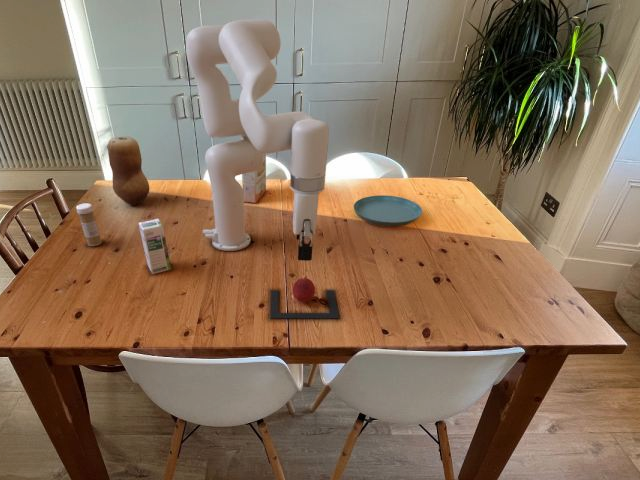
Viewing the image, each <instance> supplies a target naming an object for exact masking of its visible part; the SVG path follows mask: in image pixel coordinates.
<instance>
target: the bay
mask: <svg viewBox="0 0 640 480" xmlns="http://www.w3.org/2000/svg"><path fill="white" fill-rule="evenodd" d="M325 291H326V298H327V303H328V304H327V305H328V310H329V312H279V290H278V289H271V290H270V317H269V318H270V320H339V319H340V315H339V311H338V305H337V301H336V300H337V299H336V294H335V290H334V289H326V290H325Z"/></svg>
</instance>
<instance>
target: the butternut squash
mask: <svg viewBox="0 0 640 480" xmlns="http://www.w3.org/2000/svg"><path fill="white" fill-rule="evenodd" d="M106 148H107V154H108V162H109V166H110V169H111V171H112V190H113V192H114V194H115V195H116V196H117V197H118V198H120V199H121V200H122V201H123V202H124V203H126V204H127V205H128V206H132V207H133V206H136V205H138V204H140V203H142V202H143V201H144V200H145V199H147V197H148V195H149V193H150V184H149V181H148V179H147V177H146V175H145V174H144V172H143V170H142V165H143V164H142V163H143V159H142V153H141V150H140V149H141V148H140V145H139V143H138V141H137V139H135V138H133V137H131V136H115V137H111V138H110V139H109V141H108V142H107V145H106Z"/></svg>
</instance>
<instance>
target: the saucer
mask: <svg viewBox="0 0 640 480" xmlns="http://www.w3.org/2000/svg"><path fill="white" fill-rule="evenodd" d="M353 210H354V213H355V214H356V215H357V216H358V217H359V218H360V219H361V220H363V221H364V222H366V223H368V224H370V225H373V226H378V227H385V228H398V227H403V226H404V227H405V226H407V225H410V224H412V223H415V222H416V221H417V220H418V219H419V218H420V217H421V216H422V214H423V209H422V207H421V205H419V204H418V203H416V202H415V201H413V200H410V199H408V198H405V197H402V196H395V195H385V194H381V195H370V196H365V197H361V198H359V199H357V200H356V201H355V202H354V204H353Z"/></svg>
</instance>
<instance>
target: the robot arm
mask: <svg viewBox="0 0 640 480" xmlns="http://www.w3.org/2000/svg"><path fill="white" fill-rule="evenodd" d="M281 42H282V41H281V37H280V33H279V30H278V28H277V27H276V25H275V24H274V23H273V22H271V21H270V20H268V19H237V20H233V21H230V22H227V23H226V24H212V25H211V24H208V25H207V24H206V25H201V26H197V27H194V28H193V29H191V30H190V31H188V34H187V36H186V40H185V54H186V59H187V62H188V65H189V69H190V71H191V73H192V76H193V78H194V81H195V83H196V86H197V90H198V97H199V103H200V109H201V113H202V120H203V124H204V128H205V131H206V134H207V135H208V137H210V138H211V139H225V138H231V137H232V138H233V137H238V136H240V138H241V139H240V140H234V141H233V140H232V141H227V142H221V143H217V144H214V145H212V146H211V147H209V148H208V149H207V150H206V152H205V156H204V160H205V166H206V170H207V173H208V177H209V181H210V182H209V183H210V190H211V197H212V206H213V217H214V226H215V227H214V228H212V229H202V236H204V238H205V239H211V244H212V246H213V247H214V248H215V249H217V250H221V251H224V252H235V251H240V250H243V249H246V248H247V247H248V246H249V245H250V244H251V236H250V235H249V234H248V233H247V232H246V218H245V217H246V215H245V202H244V197H243V186H242V184H240V183H239V182H238V181H237V179H236V177H237V176H241V175H242V174H245V173H249V172H253V171H257V170H259V169H260V168H261V167H262V165H263V161H264V153H265V154H266V155H267V154H268V155H269V154H274V153H278V152H284V151H289V150H290V151H291V153H290V179H289V180H290V183H289V185H290V186H289V188H290V190H291V191H292V192H293V203H292V205H293V207H292V208H293V209H292V210H293V211H292V230H293V231H292V232H293V234H294V236H296V240H297V241H299V244H298V246H297V260H298V261H302V262H303V261H304V262H305V261H312V258H313V247H314V245H313V235H315V234H316V230H317V220H318V209H319V195H320V193H322V192H323V191H324V190H325V186H326V185H325V184H326V173H327V163H328V149H329V136H330V128H329V126H328V124H327V123H326V121H323V120H319V119H314V118H313V117H312V116H311V115H310V114H308V113H306V111H305V112H304V111H300V110H298V111H289V112H282V113H275V114H268V115H264V114H263V113H262V111H261V109H260V108H259V106H258V105H257V101H258V100H259V99H261V98H262V97H264V96H265V95H267V93H269V91H271V89H272V88H273V87H274V85H275V83H276V82H277V77H278V74H277V69H276V67H275V65H274V63H273V62H272V61H273V60H275V58H277V57H278V55H279V54H280V50H281ZM225 64H226V65H227V64H228V65H229V67H230V69H231V71H232V72H233V74H234V76H235V77H236V80H237V82H238V83H239V85H240V87H241V88H242V90H241V92H240V94H239V95H240V96H239V98H237V99H232V96H231V95H232V94H231V88H230V83H229V79H228V78H227V76H226V75H225V73H224V72H223V71H222V70H221V68H219V67H218V66H217V65H225Z"/></svg>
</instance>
